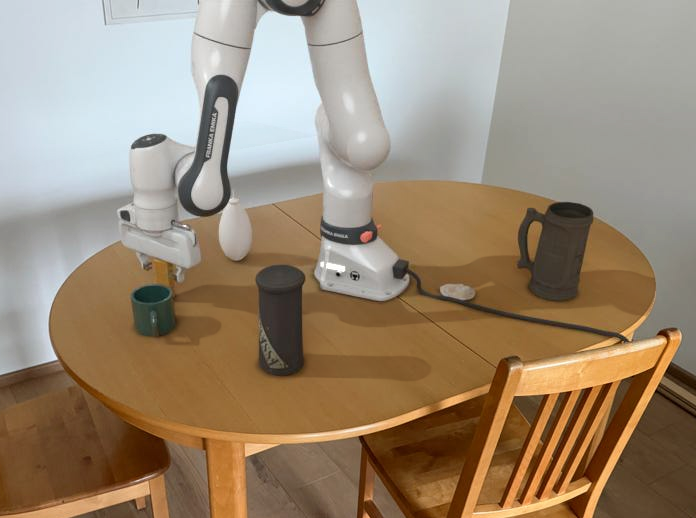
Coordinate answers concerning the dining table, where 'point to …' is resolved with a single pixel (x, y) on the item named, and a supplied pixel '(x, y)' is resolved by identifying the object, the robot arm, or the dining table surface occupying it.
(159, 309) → the teal faceted mug
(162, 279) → the supplement box
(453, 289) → the flatbread
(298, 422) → the dining table surface
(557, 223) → the beer stein
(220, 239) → the white air blower bulb
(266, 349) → the container
